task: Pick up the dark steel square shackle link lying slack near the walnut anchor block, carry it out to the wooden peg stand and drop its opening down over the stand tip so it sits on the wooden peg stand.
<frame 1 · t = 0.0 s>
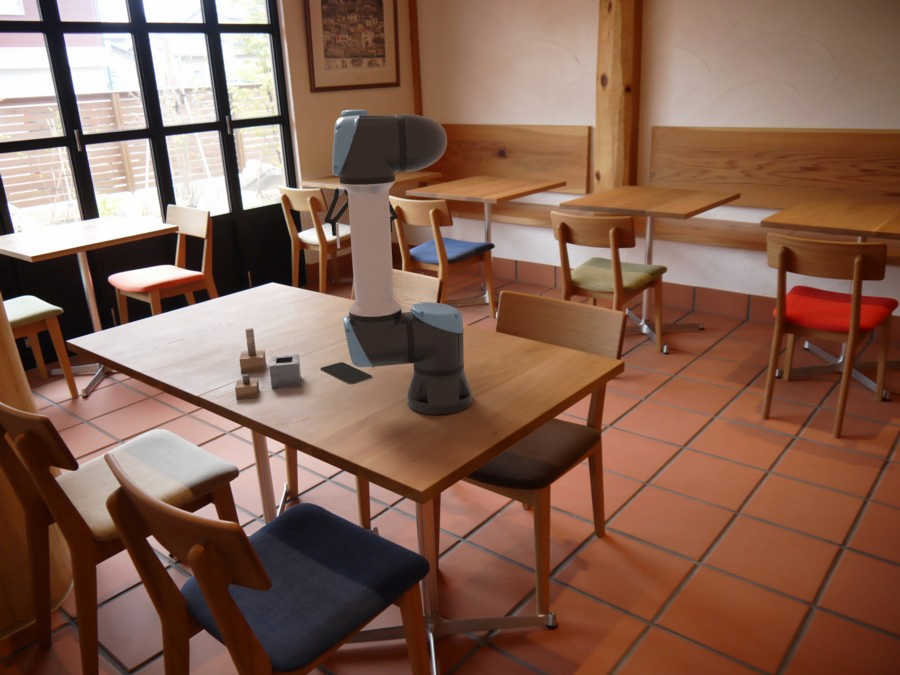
hand: (363, 246, 209), 28 cm above the table, fingers open, 13 cm apart
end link: (286, 382, 188), on the table
anchor block: (248, 394, 181), on the table
wooden peg stand: (253, 368, 198), on the table
smartphone: (345, 375, 193), on the table
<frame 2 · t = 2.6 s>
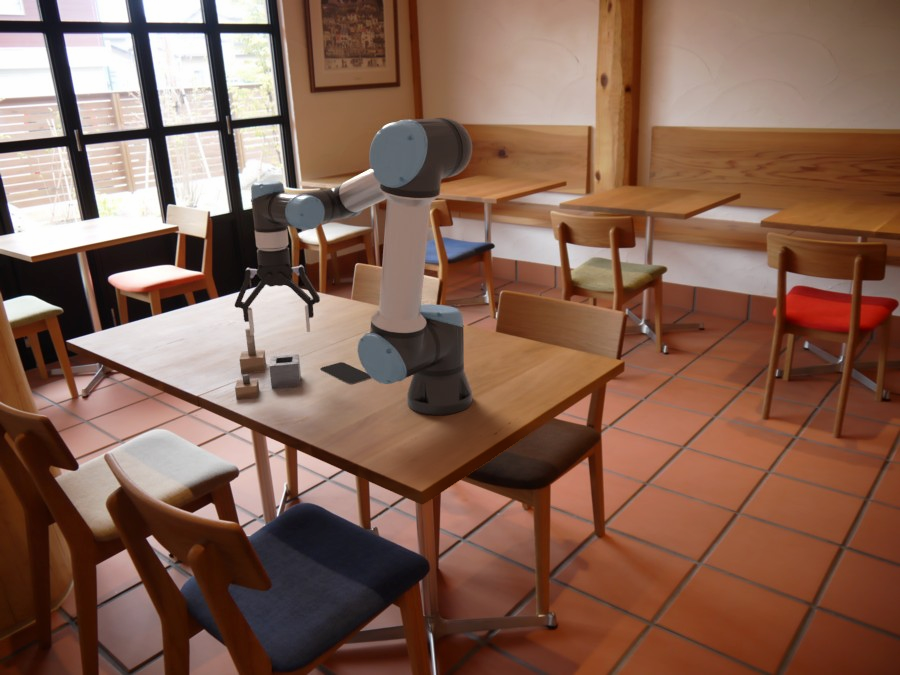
hand: (280, 332, 184), 13 cm above the table, fingers open, 13 cm apart
nothing on the table moved.
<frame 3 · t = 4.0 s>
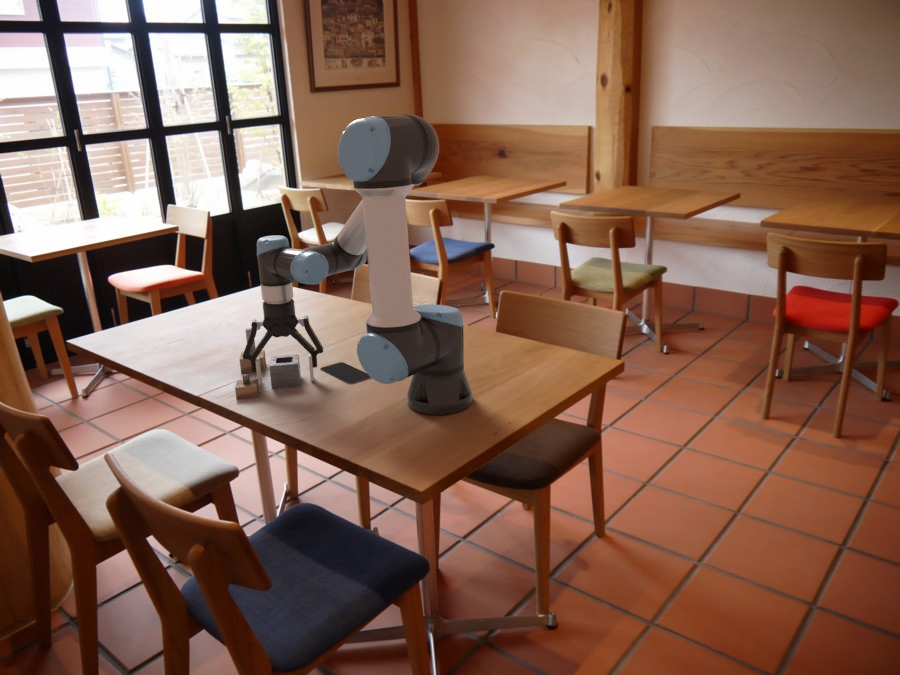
hand: (286, 381, 188), 0 cm above the table, fingers open, 12 cm apart
nothing on the table moved.
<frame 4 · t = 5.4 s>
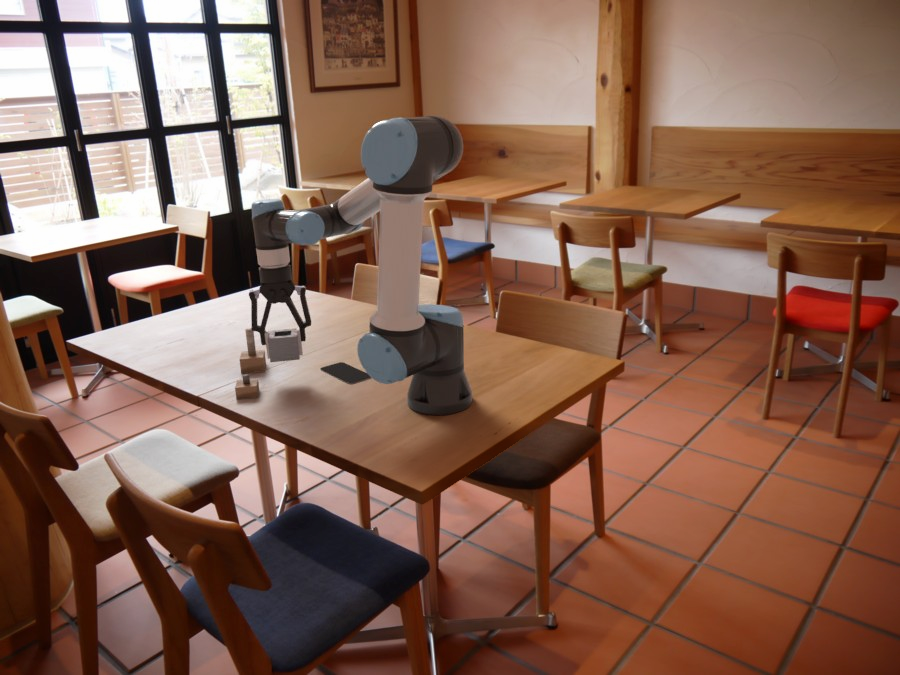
hand: (285, 355, 185), 7 cm above the table, fingers closed on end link, 7 cm apart
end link: (285, 356, 185), point 7 cm above the table, touching gripper
everything else where it was.
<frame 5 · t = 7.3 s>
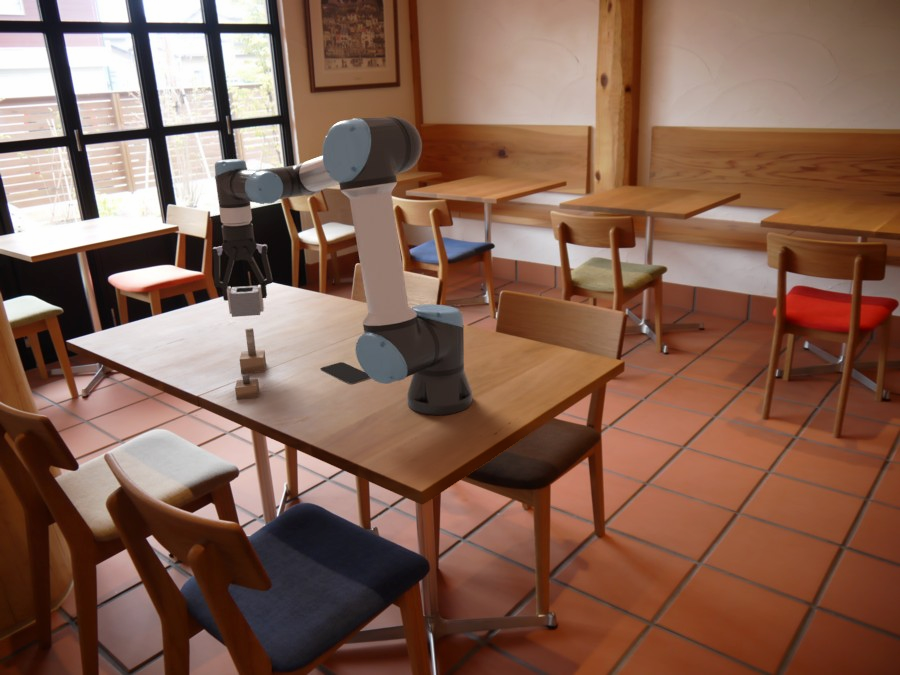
hand: (247, 311, 193), 16 cm above the table, fingers closed on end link, 7 cm apart
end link: (247, 312, 193), point 16 cm above the table, touching gripper
everything else where it was.
when the fingers open (5 cm above the table, at t = 9.6 s): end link stays where it is, resting on wooden peg stand.
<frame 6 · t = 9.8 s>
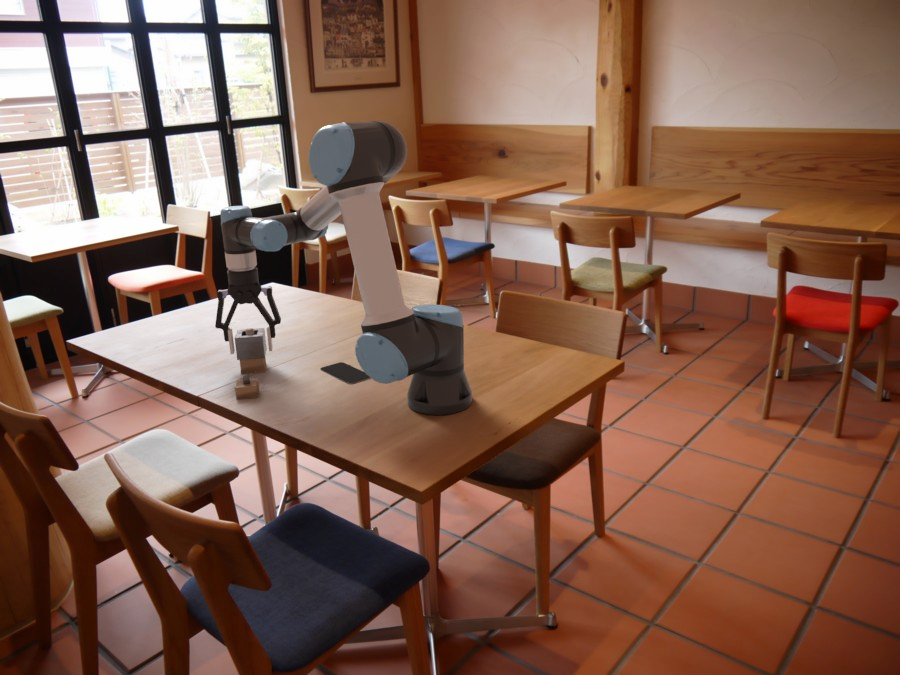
hand: (251, 350, 196), 5 cm above the table, fingers open, 9 cm apart
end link: (252, 354, 196), point 4 cm above the table, touching wooden peg stand
everything else where it was.
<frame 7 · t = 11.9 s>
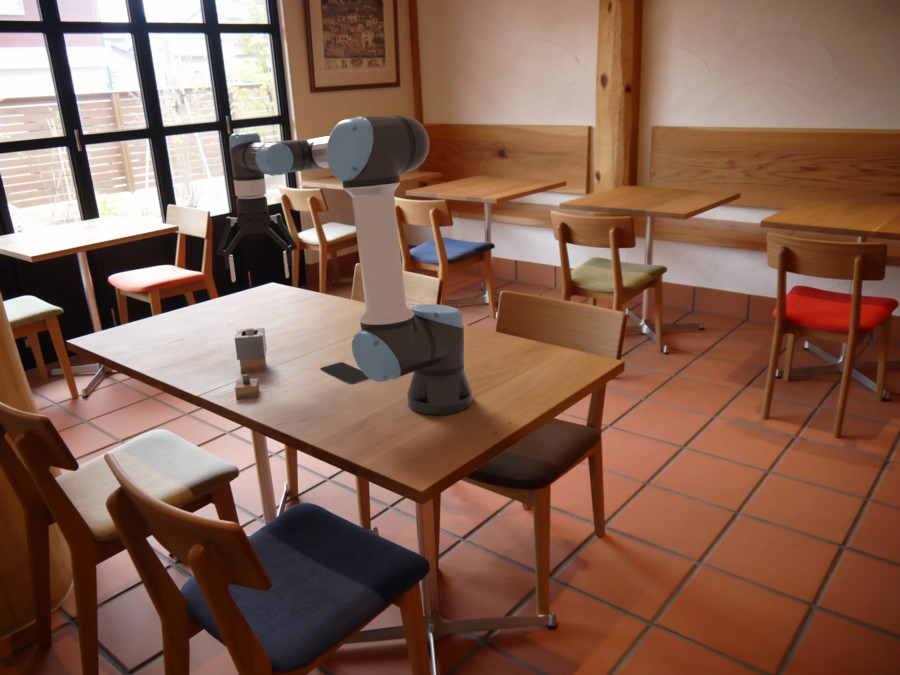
hand: (260, 278, 193), 24 cm above the table, fingers open, 13 cm apart
nothing on the table moved.
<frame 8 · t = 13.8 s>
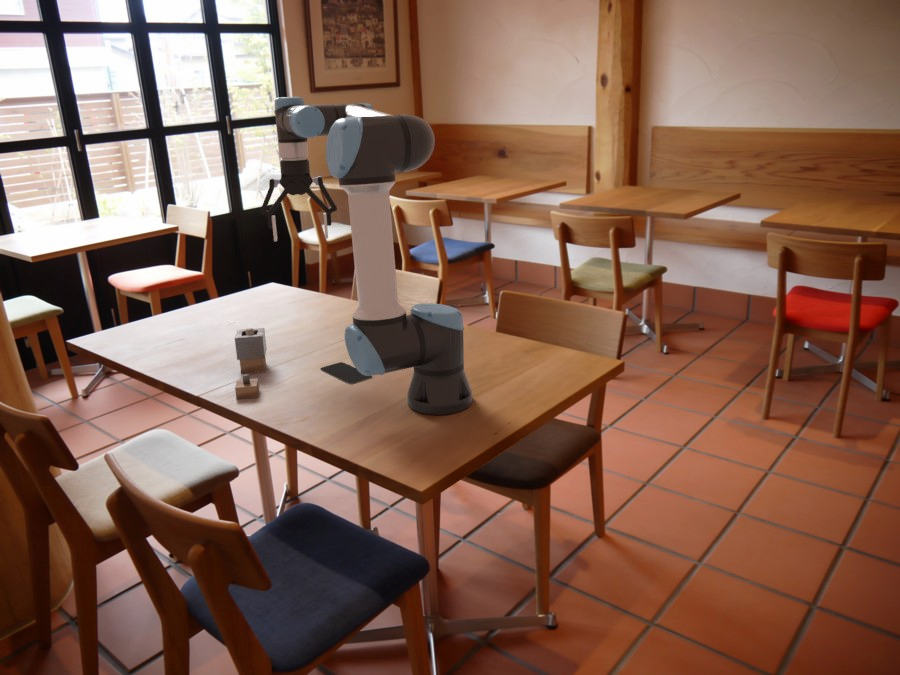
hand: (301, 239, 201), 32 cm above the table, fingers open, 13 cm apart
nothing on the table moved.
at the end: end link 0.0 cm off-centre on the wooden peg stand, point 4.0 cm above the wooden peg stand's base; the gripper is holding nothing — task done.
